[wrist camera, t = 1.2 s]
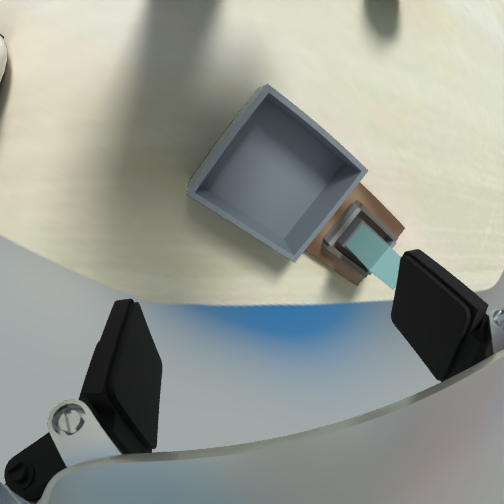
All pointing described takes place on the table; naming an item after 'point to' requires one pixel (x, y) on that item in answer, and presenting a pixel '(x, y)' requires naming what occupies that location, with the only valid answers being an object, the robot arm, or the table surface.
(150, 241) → the table surface
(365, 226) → the teal rectangular block
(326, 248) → the socket block
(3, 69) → the penguin
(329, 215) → the bin
